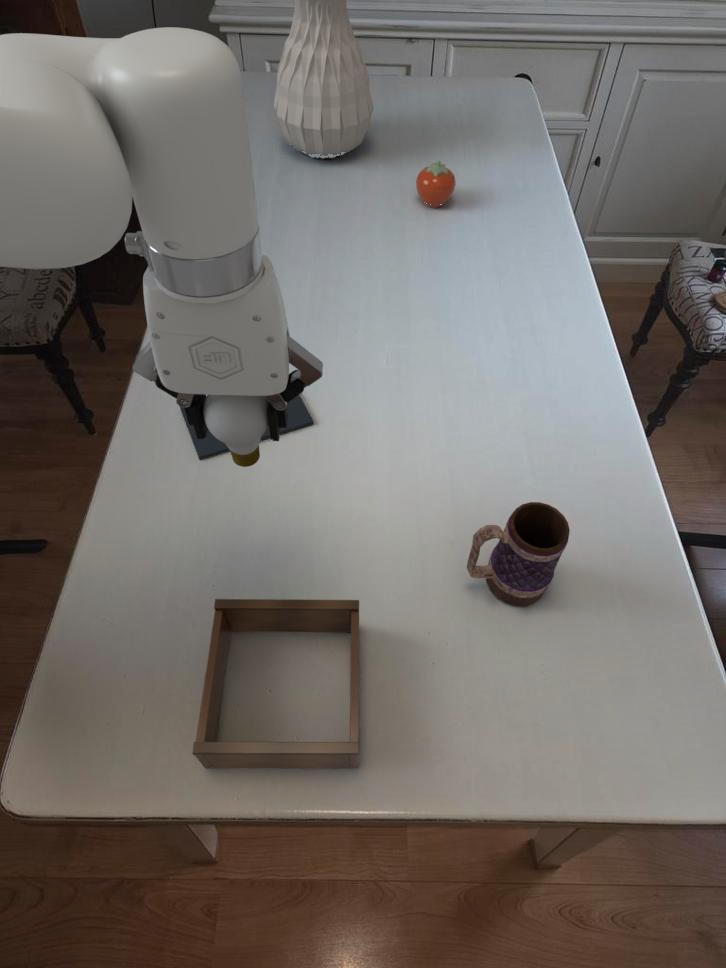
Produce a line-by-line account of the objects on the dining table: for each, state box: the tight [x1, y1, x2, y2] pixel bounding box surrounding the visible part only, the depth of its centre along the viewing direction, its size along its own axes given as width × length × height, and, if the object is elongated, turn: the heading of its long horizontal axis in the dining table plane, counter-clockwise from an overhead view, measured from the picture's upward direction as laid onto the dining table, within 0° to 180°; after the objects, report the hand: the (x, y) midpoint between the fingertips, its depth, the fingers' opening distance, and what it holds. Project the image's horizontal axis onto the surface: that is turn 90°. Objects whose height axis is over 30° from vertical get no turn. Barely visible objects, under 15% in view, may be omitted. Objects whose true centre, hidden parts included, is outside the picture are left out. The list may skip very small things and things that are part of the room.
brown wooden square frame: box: [191, 598, 360, 769], centre depth 62 cm, size 15×15×6 cm
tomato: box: [415, 159, 457, 209], centre depth 117 cm, size 7×7×8 cm
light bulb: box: [203, 394, 269, 468], centre depth 57 cm, size 6×6×10 cm
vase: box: [273, 0, 374, 158], centre depth 120 cm, size 20×20×30 cm
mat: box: [179, 394, 315, 461], centre depth 86 cm, size 16×10×1 cm, turn 114°
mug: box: [466, 501, 571, 607], centre depth 68 cm, size 10×7×12 cm
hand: (240, 427), depth 57 cm, fingers closed on light bulb, 6 cm apart
